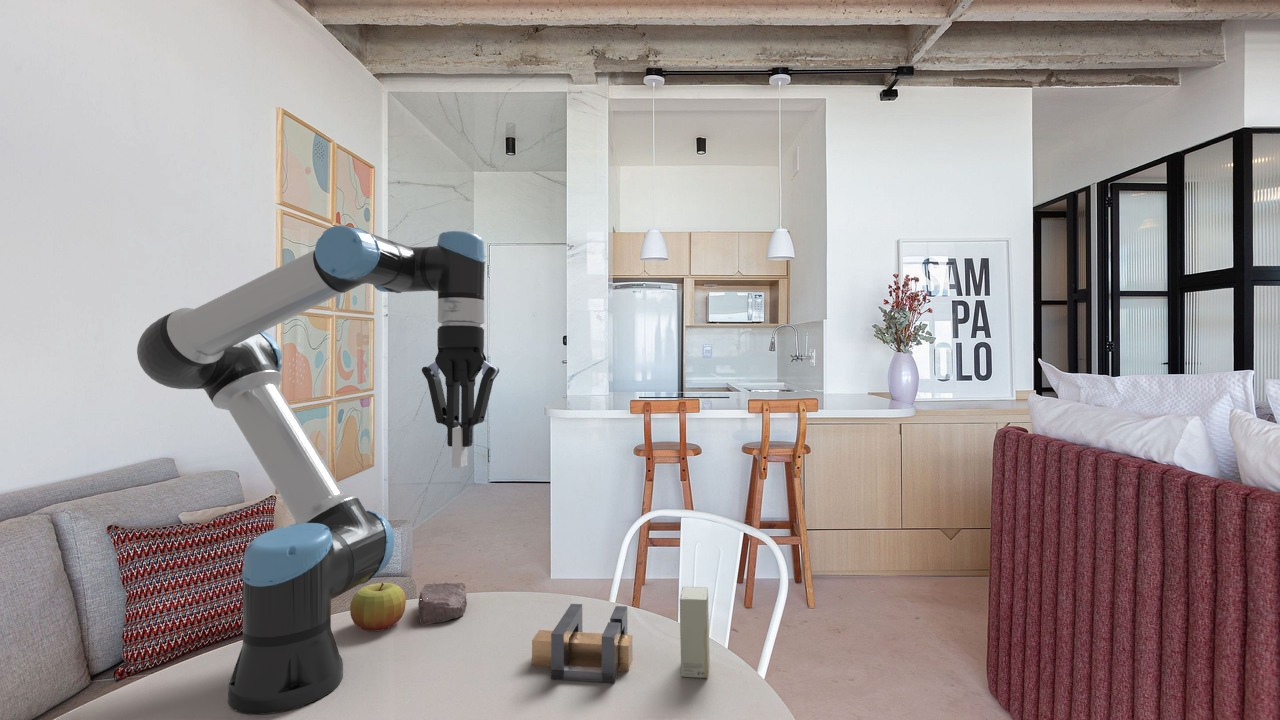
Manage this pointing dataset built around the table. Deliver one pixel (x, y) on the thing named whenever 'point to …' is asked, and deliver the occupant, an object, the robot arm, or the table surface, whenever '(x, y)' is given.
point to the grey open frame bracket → (609, 647)
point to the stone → (441, 602)
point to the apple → (377, 606)
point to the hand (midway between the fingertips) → (459, 466)
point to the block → (581, 650)
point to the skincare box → (694, 632)
